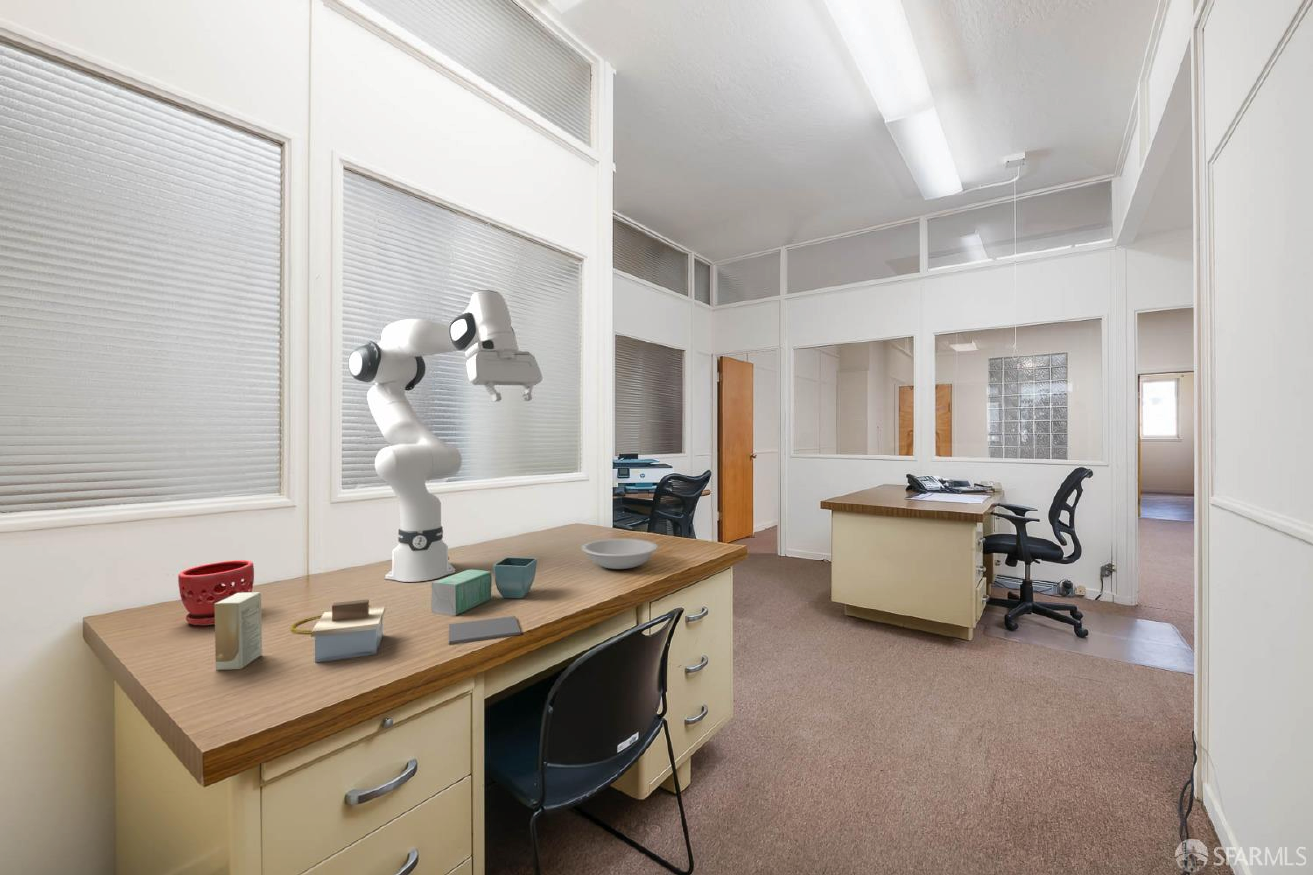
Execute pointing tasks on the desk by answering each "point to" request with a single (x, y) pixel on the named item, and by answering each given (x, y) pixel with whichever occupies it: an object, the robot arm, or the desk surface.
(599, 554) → the soup bowl
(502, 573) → the flower pot
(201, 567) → the plant pot
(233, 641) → the skincare box
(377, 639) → the blue storage bin
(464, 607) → the box
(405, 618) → the desk surface
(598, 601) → the desk surface
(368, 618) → the birch lid
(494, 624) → the rubber mat
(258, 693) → the desk surface
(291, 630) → the extension cord
